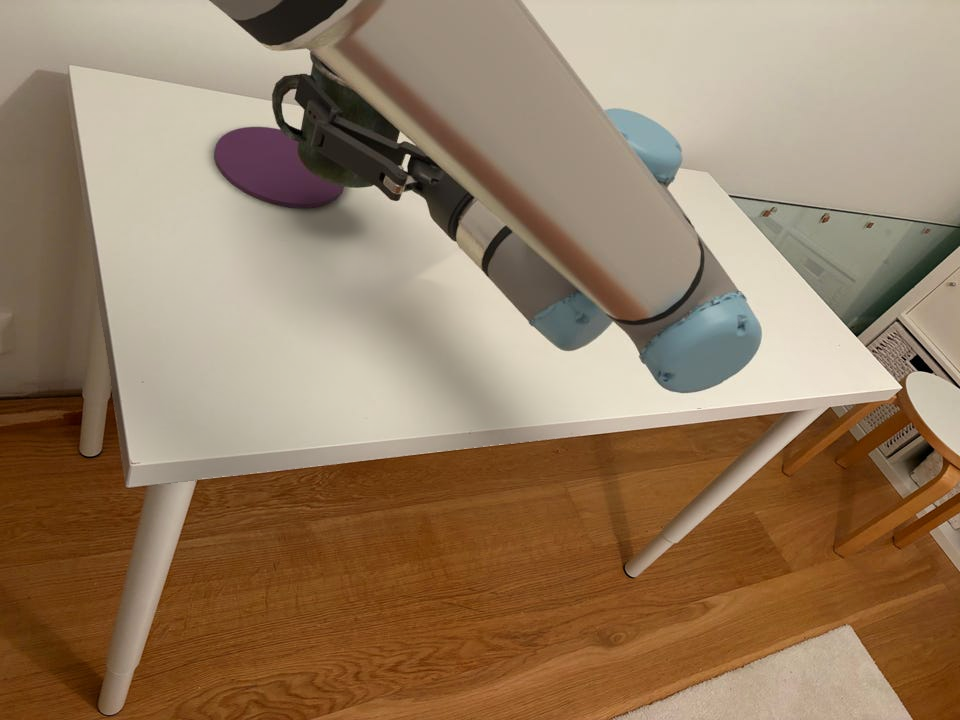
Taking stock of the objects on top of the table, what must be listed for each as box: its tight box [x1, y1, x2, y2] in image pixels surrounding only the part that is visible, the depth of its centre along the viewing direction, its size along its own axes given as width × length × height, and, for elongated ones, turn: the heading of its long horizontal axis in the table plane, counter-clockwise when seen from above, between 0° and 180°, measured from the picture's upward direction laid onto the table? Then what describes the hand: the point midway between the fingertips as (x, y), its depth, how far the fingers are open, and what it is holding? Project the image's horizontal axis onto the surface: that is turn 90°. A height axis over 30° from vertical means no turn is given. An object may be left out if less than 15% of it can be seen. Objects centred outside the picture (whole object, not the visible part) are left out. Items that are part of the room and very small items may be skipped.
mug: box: [271, 51, 401, 189], centre depth 77 cm, size 11×15×12 cm
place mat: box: [214, 126, 345, 209], centre depth 91 cm, size 16×16×1 cm
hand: (354, 84), depth 75 cm, fingers closed on mug, 12 cm apart
